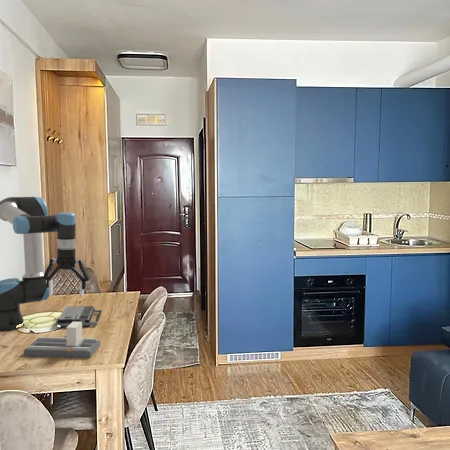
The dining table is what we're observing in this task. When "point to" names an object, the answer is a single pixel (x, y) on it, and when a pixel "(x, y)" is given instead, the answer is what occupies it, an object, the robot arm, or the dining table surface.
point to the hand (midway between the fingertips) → (66, 295)
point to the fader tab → (74, 335)
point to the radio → (78, 316)
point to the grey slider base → (61, 348)
